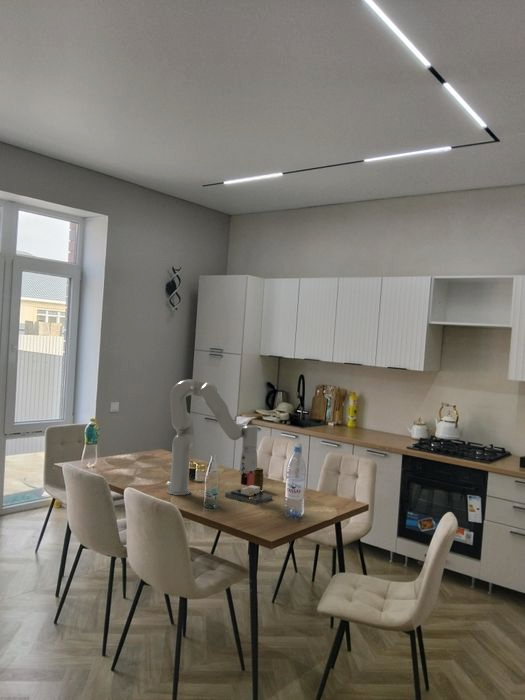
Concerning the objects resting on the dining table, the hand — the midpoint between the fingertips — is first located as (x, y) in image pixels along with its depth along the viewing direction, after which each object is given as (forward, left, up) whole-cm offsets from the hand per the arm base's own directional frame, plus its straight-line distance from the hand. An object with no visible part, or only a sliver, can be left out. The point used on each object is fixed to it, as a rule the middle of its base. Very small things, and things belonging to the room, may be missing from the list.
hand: (247, 483), depth 297 cm
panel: (0, +2, -8) cm, 8 cm away
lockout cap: (0, 0, -1) cm, 1 cm away
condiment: (-6, +19, -9) cm, 22 cm away
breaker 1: (+1, 0, -6) cm, 6 cm away
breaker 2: (0, +6, -6) cm, 8 cm away
